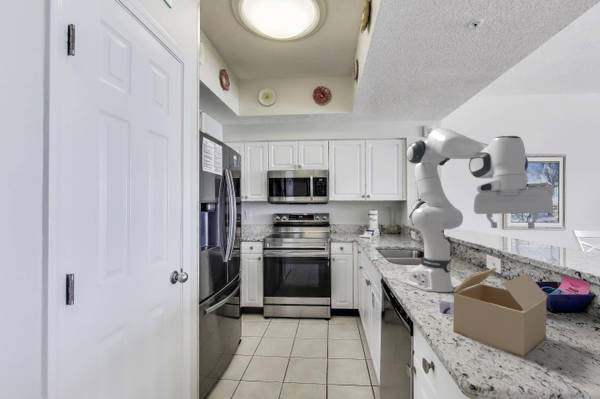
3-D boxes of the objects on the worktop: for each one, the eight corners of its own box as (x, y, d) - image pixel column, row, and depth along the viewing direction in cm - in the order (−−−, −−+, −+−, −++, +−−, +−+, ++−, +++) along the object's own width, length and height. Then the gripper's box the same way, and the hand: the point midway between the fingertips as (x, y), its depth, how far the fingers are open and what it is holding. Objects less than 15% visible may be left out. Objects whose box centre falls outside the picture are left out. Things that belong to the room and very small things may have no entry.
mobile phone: (439, 312, 101) (438, 299, 114) (439, 315, 101) (438, 302, 114) (462, 316, 98) (459, 302, 111) (462, 319, 98) (459, 305, 111)
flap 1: (497, 268, 95) (495, 267, 95) (472, 276, 84) (470, 275, 84) (480, 282, 99) (479, 281, 99) (454, 292, 88) (453, 290, 88)
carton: (453, 331, 88) (453, 293, 88) (480, 317, 99) (481, 283, 99) (523, 358, 73) (524, 313, 73) (546, 337, 84) (546, 298, 84)
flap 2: (502, 283, 77) (504, 282, 77) (525, 273, 88) (527, 272, 88) (524, 311, 73) (526, 310, 73) (546, 297, 84) (547, 296, 84)
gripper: (553, 182, 84) (556, 228, 83) (475, 187, 98) (477, 226, 97) (553, 181, 79) (556, 229, 79) (471, 187, 93) (473, 227, 93)
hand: (512, 228), depth 88 cm, fingers open, 8 cm apart
